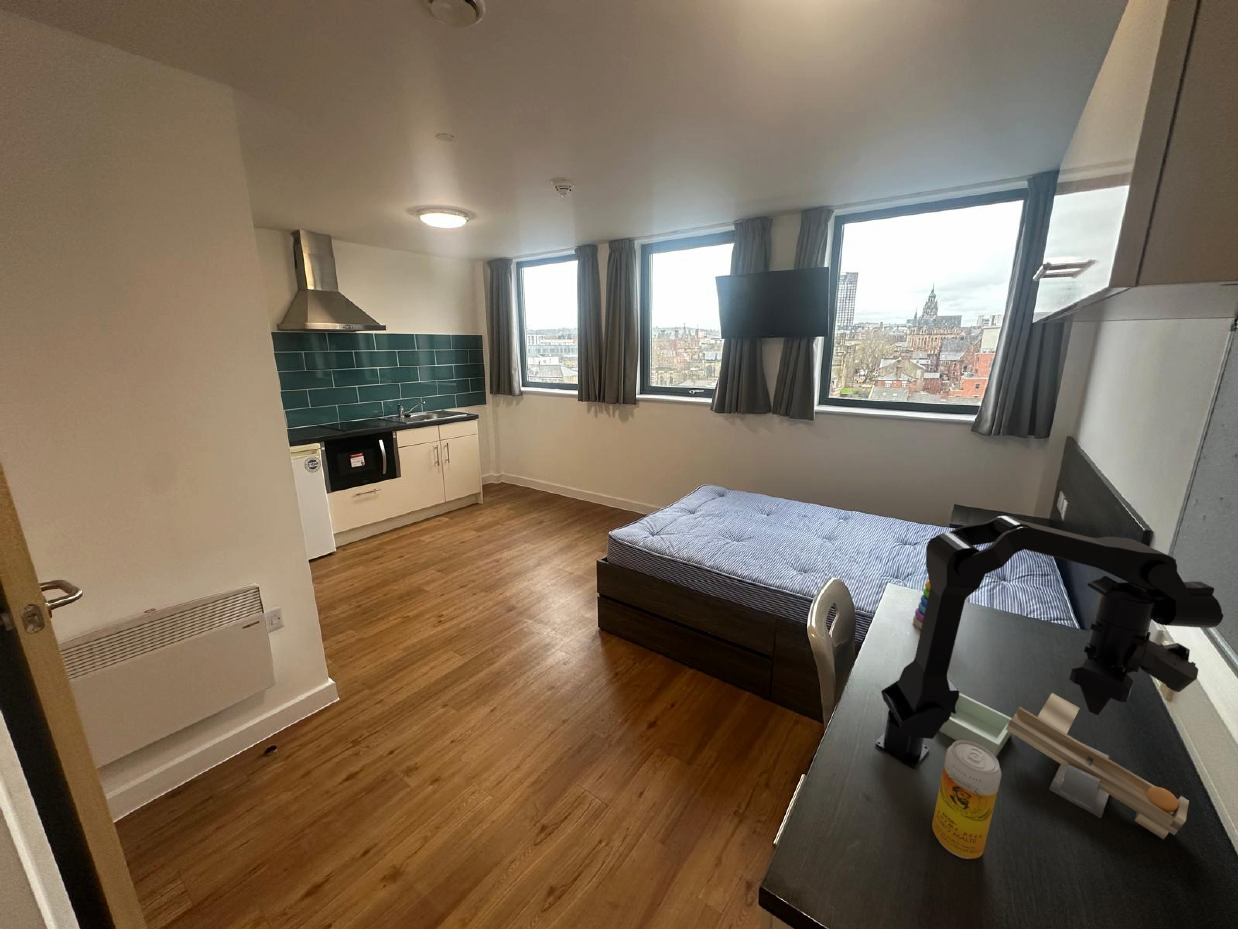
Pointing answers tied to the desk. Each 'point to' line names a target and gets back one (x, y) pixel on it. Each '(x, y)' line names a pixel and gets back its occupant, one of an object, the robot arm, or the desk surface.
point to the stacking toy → (922, 606)
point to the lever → (1093, 763)
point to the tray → (977, 725)
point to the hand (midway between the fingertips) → (1097, 705)
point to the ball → (1162, 799)
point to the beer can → (966, 799)
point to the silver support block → (1080, 788)
